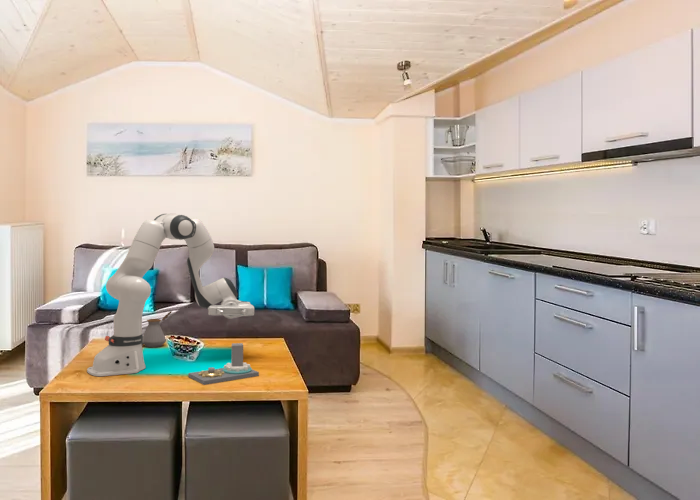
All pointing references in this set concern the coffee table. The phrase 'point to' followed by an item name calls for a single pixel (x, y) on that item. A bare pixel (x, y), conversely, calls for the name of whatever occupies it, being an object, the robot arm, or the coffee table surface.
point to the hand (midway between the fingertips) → (232, 312)
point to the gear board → (220, 375)
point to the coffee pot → (154, 333)
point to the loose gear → (237, 359)
